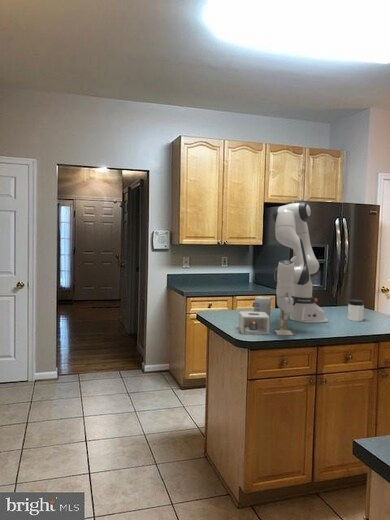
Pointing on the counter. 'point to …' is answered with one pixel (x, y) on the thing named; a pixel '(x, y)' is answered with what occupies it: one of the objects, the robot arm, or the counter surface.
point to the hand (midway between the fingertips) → (284, 318)
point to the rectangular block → (282, 321)
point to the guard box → (253, 316)
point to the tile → (283, 332)
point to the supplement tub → (262, 305)
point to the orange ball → (253, 325)
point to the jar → (355, 310)
